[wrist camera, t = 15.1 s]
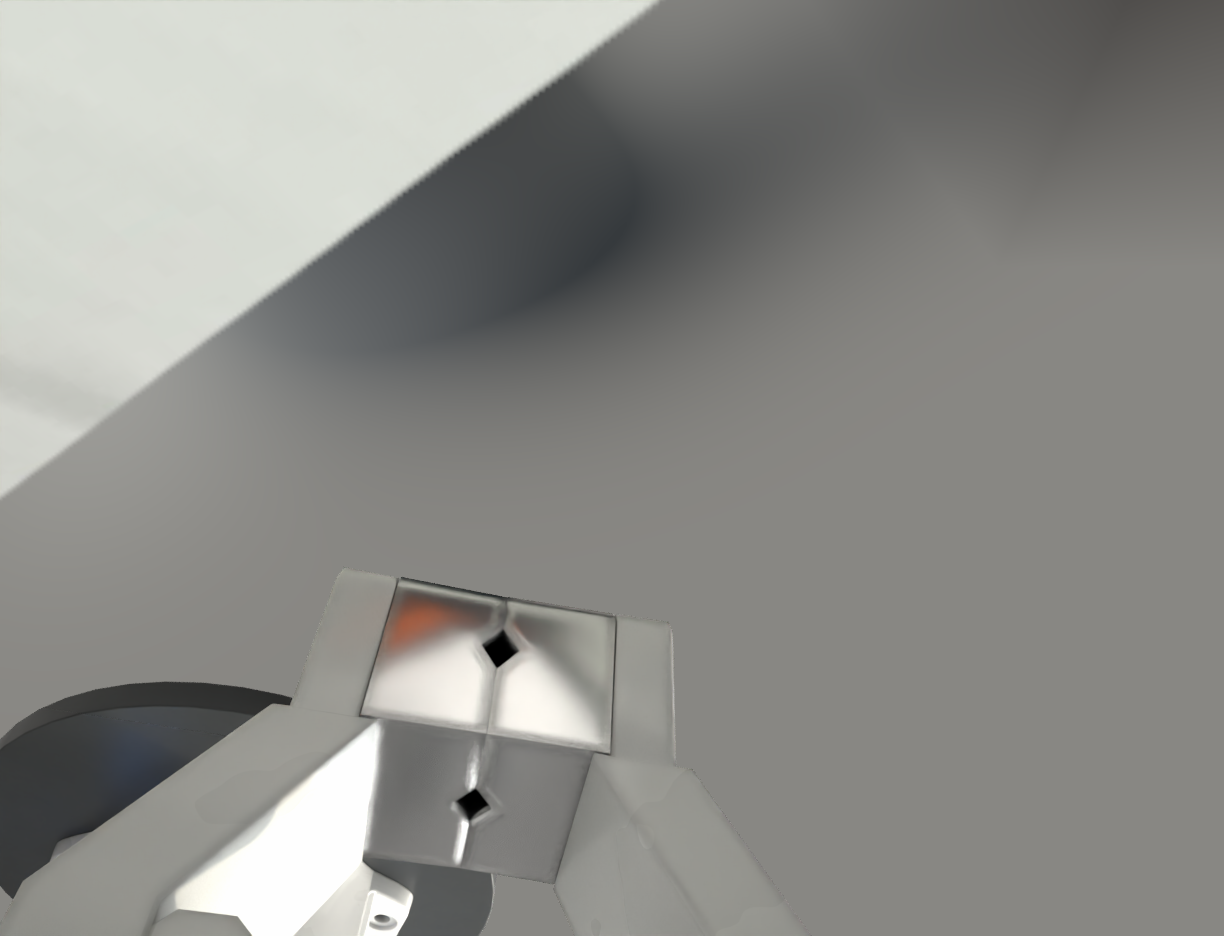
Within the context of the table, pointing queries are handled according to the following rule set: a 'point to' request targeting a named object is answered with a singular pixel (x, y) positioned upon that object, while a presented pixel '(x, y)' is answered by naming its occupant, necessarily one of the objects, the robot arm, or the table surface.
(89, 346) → the table surface
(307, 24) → the table surface
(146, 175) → the table surface
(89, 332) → the table surface
